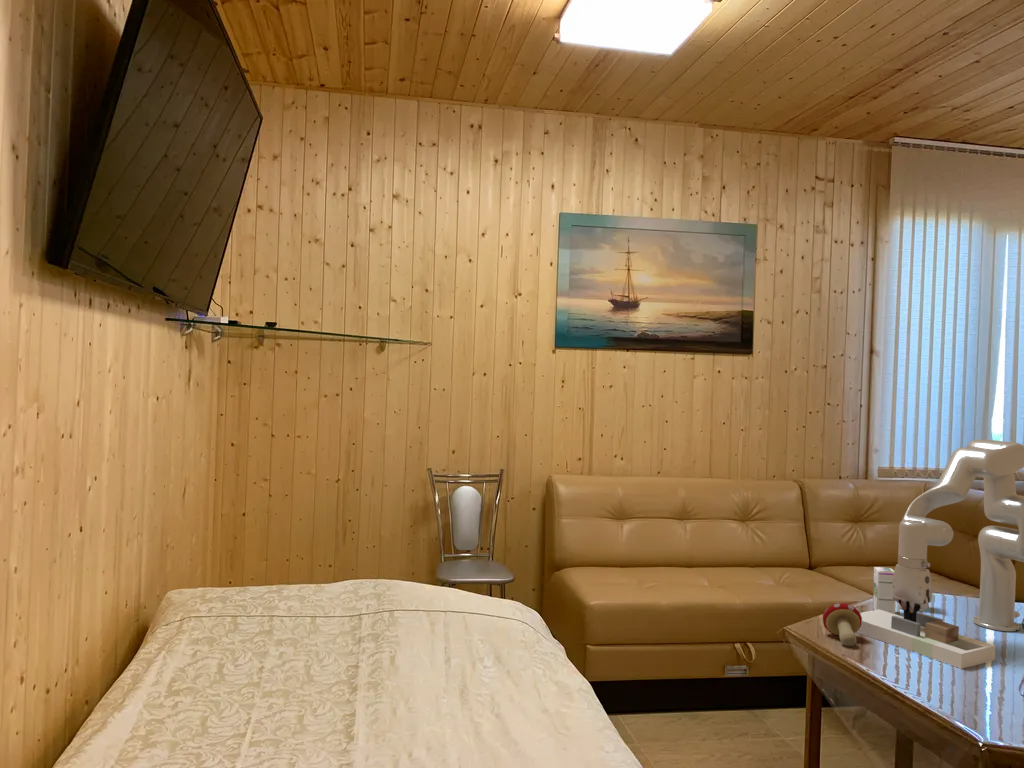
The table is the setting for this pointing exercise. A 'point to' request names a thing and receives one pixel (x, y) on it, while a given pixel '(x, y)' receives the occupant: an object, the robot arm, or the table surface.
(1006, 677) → the table surface
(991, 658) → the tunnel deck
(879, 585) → the syrup box
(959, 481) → the robot arm
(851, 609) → the decorative mushroom
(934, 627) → the walnut block
